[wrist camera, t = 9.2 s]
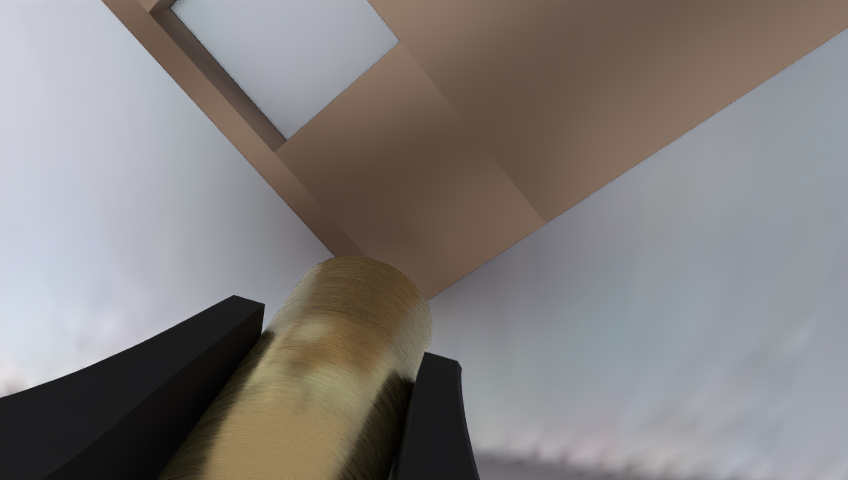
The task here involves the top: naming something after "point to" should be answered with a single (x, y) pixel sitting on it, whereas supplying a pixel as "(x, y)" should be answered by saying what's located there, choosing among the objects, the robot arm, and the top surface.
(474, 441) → the top surface
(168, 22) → the board
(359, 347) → the pin
